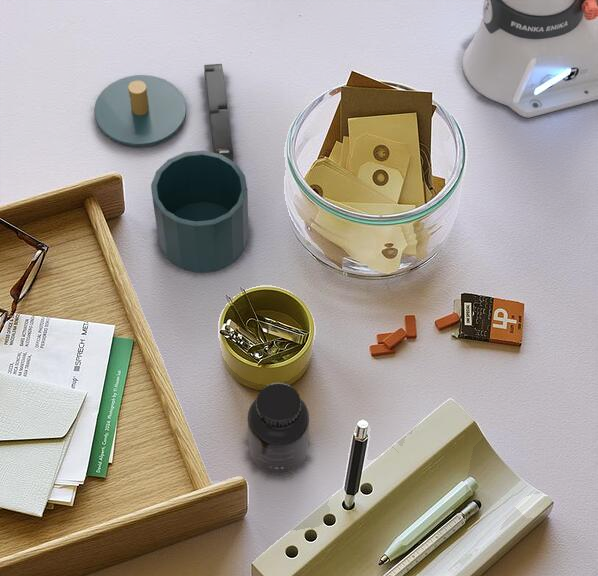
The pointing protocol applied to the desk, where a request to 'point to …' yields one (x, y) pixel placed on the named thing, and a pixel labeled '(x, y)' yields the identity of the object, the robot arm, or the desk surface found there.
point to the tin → (201, 210)
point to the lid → (140, 110)
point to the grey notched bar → (218, 110)
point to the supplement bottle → (278, 429)
